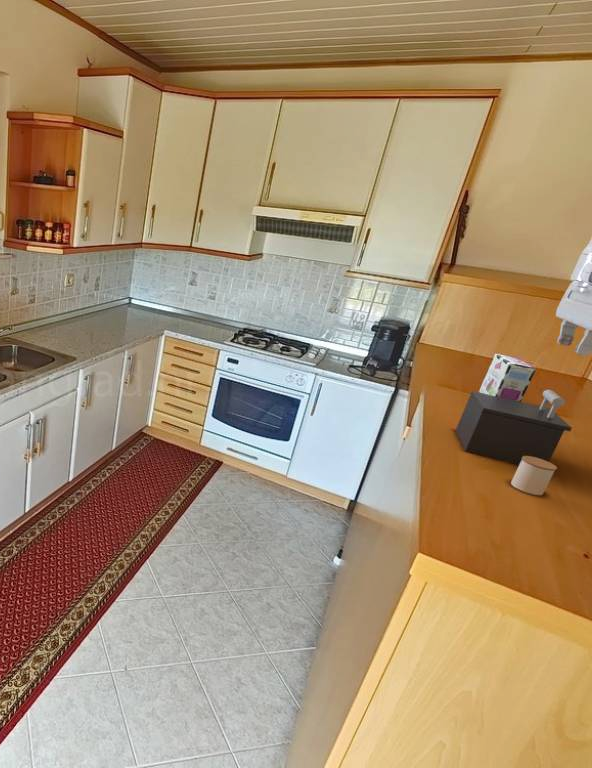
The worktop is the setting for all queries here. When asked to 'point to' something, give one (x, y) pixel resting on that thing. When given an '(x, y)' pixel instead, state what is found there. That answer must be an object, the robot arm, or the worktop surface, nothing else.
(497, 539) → the worktop surface
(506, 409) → the grey lid with handle
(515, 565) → the worktop surface
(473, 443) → the grey hinged lid box
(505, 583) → the worktop surface
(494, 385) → the candy bar box
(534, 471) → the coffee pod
